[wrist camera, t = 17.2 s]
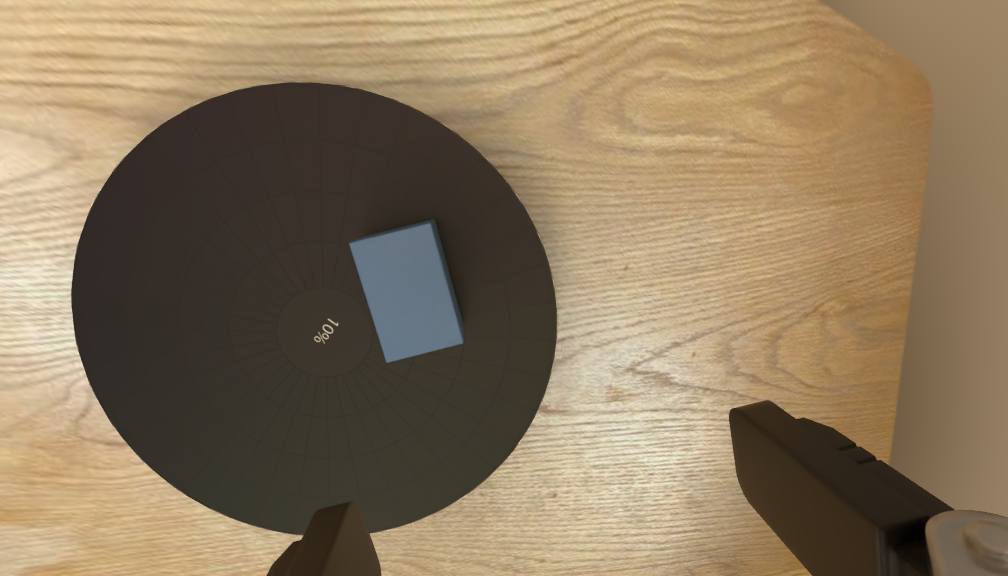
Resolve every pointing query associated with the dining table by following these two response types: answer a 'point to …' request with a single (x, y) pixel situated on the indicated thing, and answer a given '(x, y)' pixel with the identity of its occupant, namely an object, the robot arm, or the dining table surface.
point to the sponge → (409, 289)
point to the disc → (307, 308)
